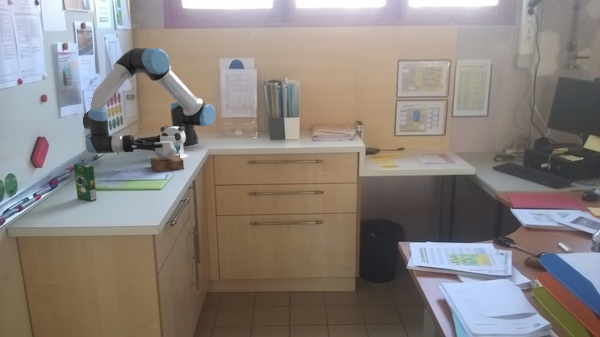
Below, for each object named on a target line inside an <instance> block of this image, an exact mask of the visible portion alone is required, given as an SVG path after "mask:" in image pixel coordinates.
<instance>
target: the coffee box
mask: <svg viewBox="0 0 600 337" xmlns="http://www.w3.org/2000/svg"><path fill="white" fill-rule="evenodd" d="M94 168H95V167H94V165H91V164H86V163H82V162H77V163H73V169H74V171H73V172H74V177H75V186H76V187H75V188H76V196H77V199H79V200H84V201H87V202H94V201H97V192H96V181H95V180H96V179H95V170H94Z"/></svg>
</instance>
